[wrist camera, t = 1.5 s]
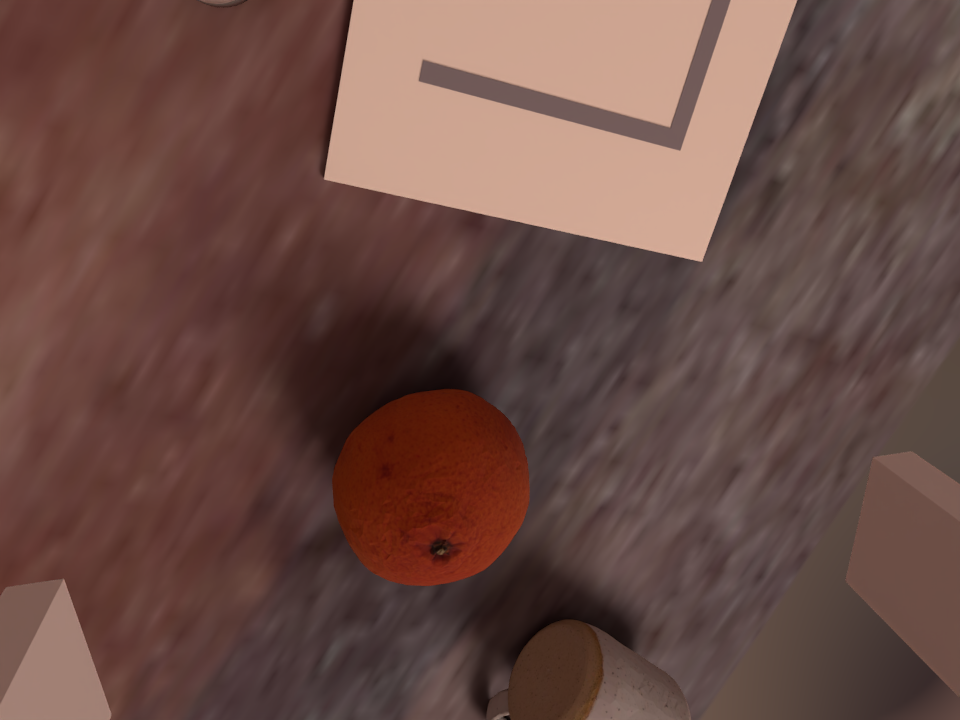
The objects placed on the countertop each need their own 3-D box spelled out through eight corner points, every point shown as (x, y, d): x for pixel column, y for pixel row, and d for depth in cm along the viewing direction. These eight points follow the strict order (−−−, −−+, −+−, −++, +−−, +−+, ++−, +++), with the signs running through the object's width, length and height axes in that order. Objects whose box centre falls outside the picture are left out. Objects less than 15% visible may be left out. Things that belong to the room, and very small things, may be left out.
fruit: (382, 547, 37) (396, 667, 30) (302, 414, 33) (296, 514, 26) (534, 477, 37) (585, 578, 30) (473, 337, 33) (514, 414, 26)
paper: (323, 178, 29) (323, 179, 29) (402, -295, 24) (403, -300, 23) (698, 260, 34) (702, 262, 34) (834, -116, 29) (840, -118, 28)
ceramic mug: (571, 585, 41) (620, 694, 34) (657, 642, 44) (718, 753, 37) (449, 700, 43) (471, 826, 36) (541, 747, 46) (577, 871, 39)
